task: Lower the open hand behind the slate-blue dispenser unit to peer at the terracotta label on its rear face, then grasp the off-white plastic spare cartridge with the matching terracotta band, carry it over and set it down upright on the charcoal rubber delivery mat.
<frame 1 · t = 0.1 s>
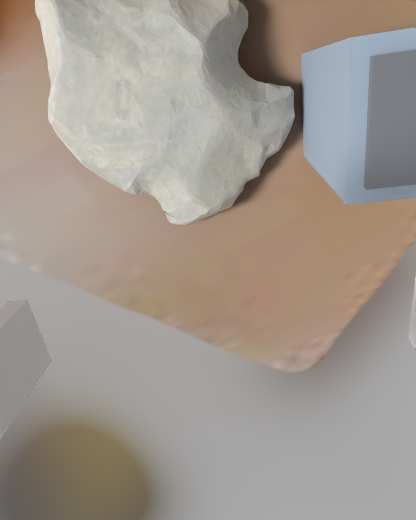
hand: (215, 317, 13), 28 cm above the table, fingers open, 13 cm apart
dispenser unit: (357, 100, 35), on the table
rock: (163, 87, 36), on the table
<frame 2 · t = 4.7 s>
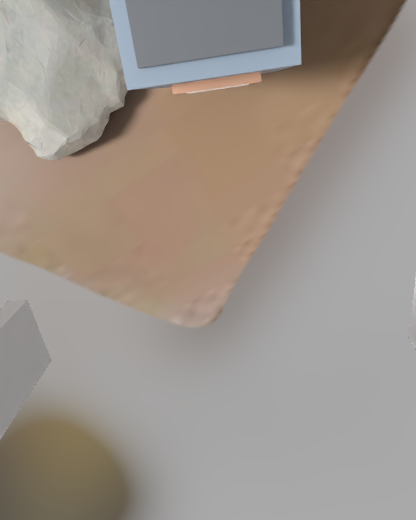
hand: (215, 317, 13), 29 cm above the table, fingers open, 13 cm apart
dispenser unit: (216, 24, 34), on the table
rock: (21, 9, 35), on the table
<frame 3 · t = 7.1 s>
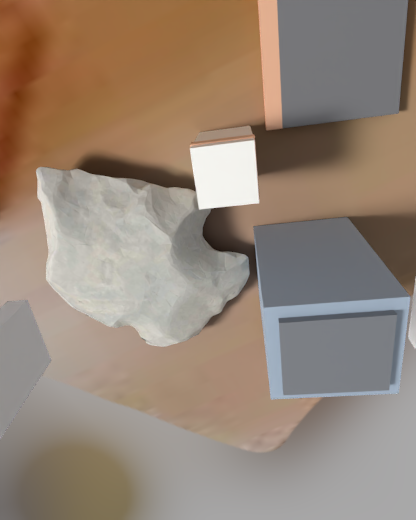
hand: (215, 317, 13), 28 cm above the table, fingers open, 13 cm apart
dispenser unit: (300, 258, 42), on the table
delivery mat: (329, 49, 33), on the table
rock: (142, 240, 43), on the table
spare cartridge: (227, 154, 38), on the table
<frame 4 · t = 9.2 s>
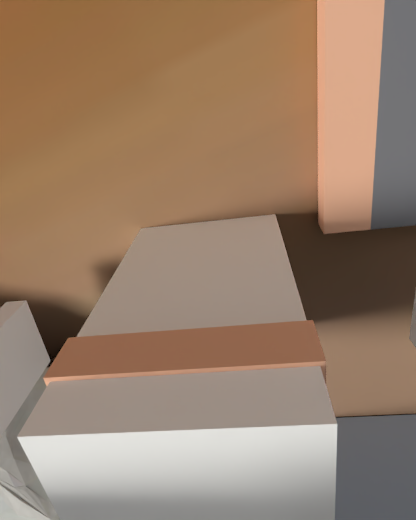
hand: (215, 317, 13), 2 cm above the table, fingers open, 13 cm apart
dispenser unit: (378, 476, 19), on the table
rock: (36, 433, 20), on the table, touching gripper
spare cartridge: (215, 280, 15), on the table
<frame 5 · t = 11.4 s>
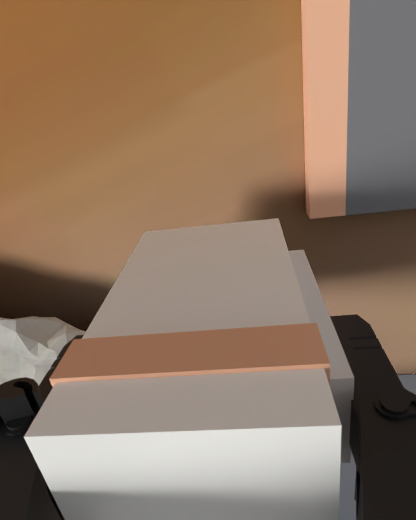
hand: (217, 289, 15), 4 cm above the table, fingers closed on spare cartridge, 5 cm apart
dispenser unit: (361, 433, 23), on the table
rock: (71, 395, 24), on the table
spare cartridge: (218, 283, 15), point 4 cm above the table, touching gripper
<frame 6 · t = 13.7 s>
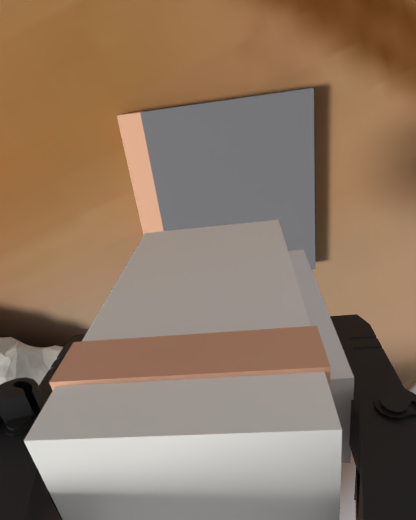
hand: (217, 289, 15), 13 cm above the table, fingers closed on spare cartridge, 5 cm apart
delivery mat: (223, 193, 26), on the table
rock: (29, 383, 36), on the table
spare cartridge: (218, 284, 15), point 13 cm above the table, touching gripper
when the fingers open (1 cm above the table, at t = 16.3 s): spare cartridge stays where it is, resting on delivery mat.
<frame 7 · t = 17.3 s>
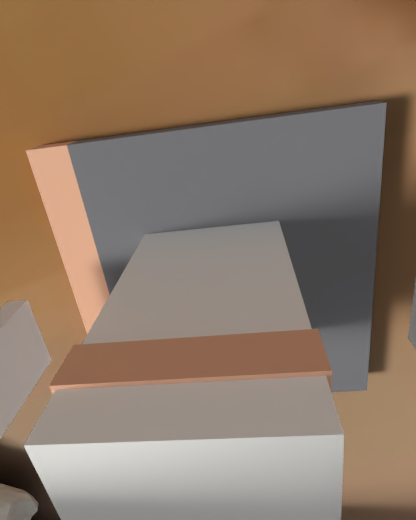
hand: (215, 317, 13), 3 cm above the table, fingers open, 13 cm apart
delivery mat: (218, 273, 16), on the table
spare cartridge: (218, 286, 15), point 1 cm above the table, touching delivery mat
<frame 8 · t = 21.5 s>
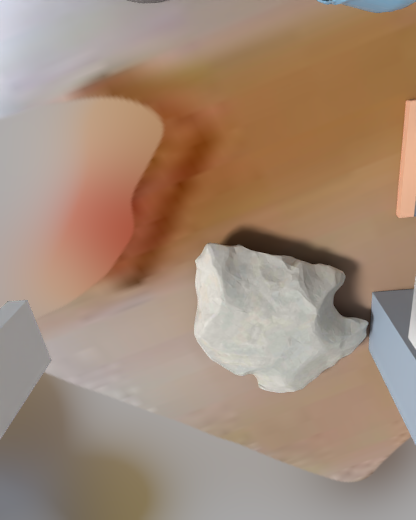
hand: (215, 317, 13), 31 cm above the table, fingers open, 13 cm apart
dispenser unit: (410, 319, 48), on the table
rock: (270, 300, 49), on the table
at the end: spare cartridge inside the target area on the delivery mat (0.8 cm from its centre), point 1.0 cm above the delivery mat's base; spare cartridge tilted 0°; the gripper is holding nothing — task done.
